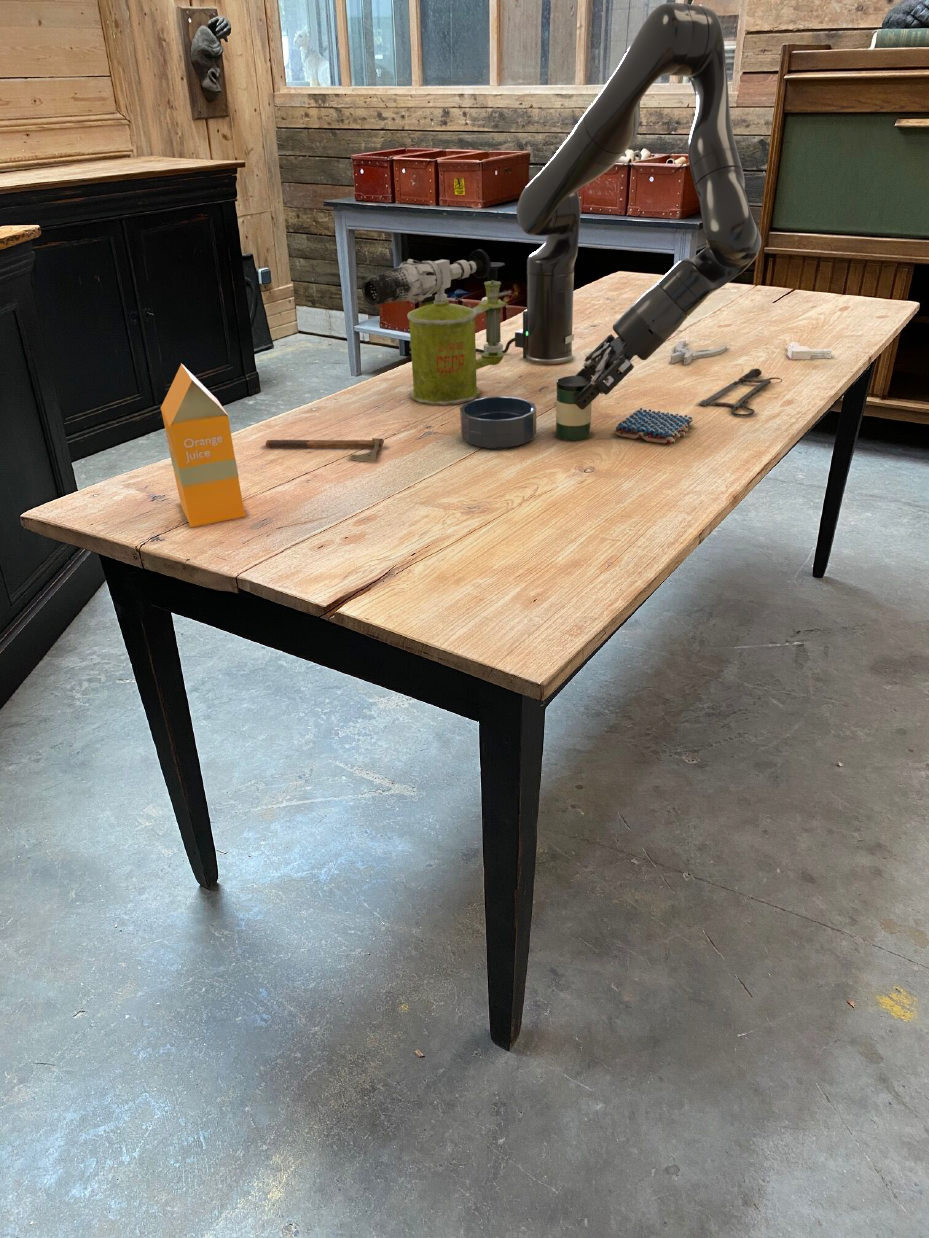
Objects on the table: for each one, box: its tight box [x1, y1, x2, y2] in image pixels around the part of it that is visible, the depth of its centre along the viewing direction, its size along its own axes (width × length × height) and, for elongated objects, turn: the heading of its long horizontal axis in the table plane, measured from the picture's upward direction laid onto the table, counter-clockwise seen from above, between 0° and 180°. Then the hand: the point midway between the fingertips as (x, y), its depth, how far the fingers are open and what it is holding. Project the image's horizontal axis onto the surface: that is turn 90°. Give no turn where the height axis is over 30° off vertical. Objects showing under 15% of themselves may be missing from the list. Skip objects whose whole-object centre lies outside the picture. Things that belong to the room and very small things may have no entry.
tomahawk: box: [265, 437, 385, 463], centre depth 151 cm, size 20×7×1 cm, turn 83°
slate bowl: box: [459, 395, 538, 449], centre depth 153 cm, size 12×12×5 cm
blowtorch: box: [361, 248, 508, 406], centre depth 169 cm, size 13×33×25 cm, turn 137°
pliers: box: [669, 339, 728, 366], centre depth 192 cm, size 10×2×15 cm
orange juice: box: [160, 363, 246, 528], centre depth 128 cm, size 8×9×20 cm
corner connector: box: [786, 341, 832, 360], centre depth 190 cm, size 8×8×2 cm
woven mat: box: [613, 407, 694, 444], centre depth 154 cm, size 10×11×2 cm
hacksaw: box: [698, 367, 783, 417], centre depth 169 cm, size 24×10×2 cm, turn 141°
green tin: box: [555, 375, 593, 442], centre depth 152 cm, size 6×6×9 cm
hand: (574, 397), depth 151 cm, fingers open, 8 cm apart
